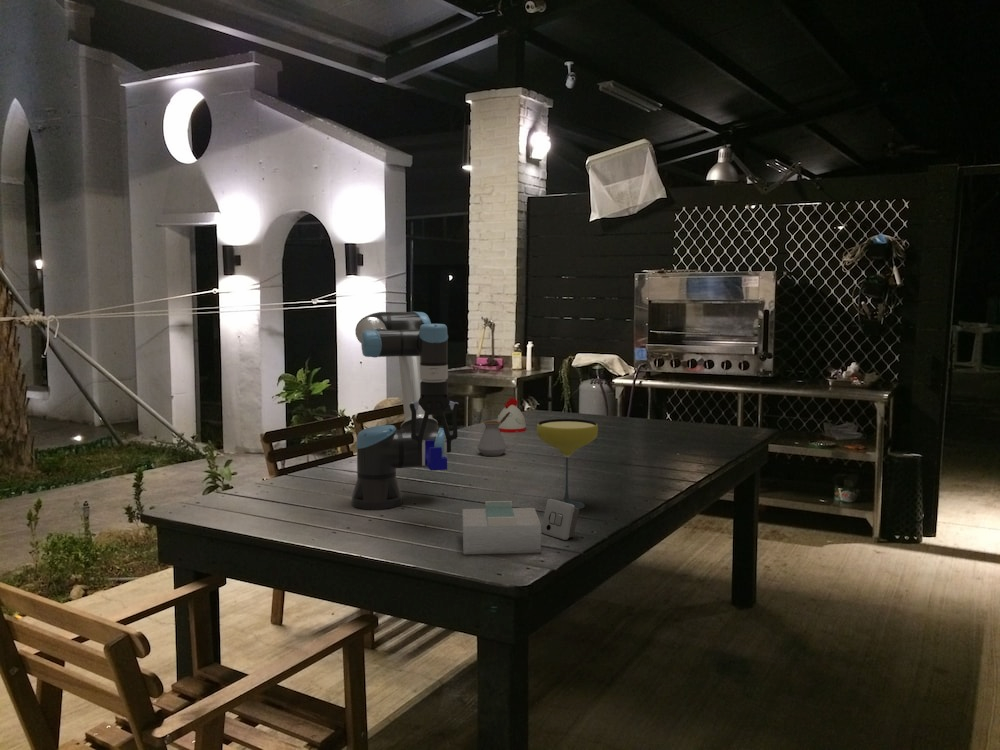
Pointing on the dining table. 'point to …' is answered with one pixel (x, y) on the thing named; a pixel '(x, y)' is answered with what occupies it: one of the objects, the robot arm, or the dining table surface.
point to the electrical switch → (559, 519)
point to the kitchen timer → (512, 418)
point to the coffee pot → (492, 439)
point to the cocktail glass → (567, 440)
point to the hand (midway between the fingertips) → (434, 464)
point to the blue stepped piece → (434, 456)
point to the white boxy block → (501, 529)
